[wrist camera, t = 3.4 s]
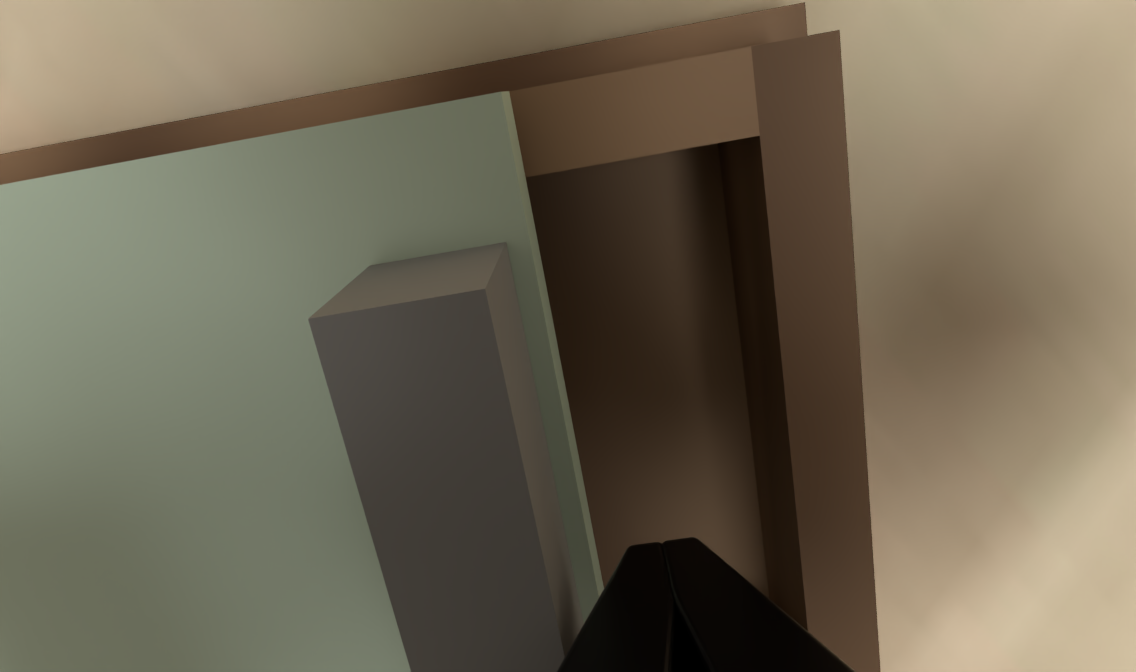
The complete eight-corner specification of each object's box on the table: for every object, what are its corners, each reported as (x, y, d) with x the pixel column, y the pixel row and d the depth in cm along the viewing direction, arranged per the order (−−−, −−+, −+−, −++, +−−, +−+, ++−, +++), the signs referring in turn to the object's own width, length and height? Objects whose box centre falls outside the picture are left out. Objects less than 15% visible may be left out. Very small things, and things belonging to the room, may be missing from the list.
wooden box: (786, 9, 12) (881, -26, 9) (838, 625, 16) (920, 794, 12) (-502, 252, 14) (-915, 315, 10) (-187, 767, 17) (-401, 958, 14)
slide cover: (509, 91, 9) (476, 92, 6) (648, 821, 12) (670, 1051, 9) (-379, 256, 9) (-800, 331, 6) (-15, 904, 13) (-186, 1141, 10)
